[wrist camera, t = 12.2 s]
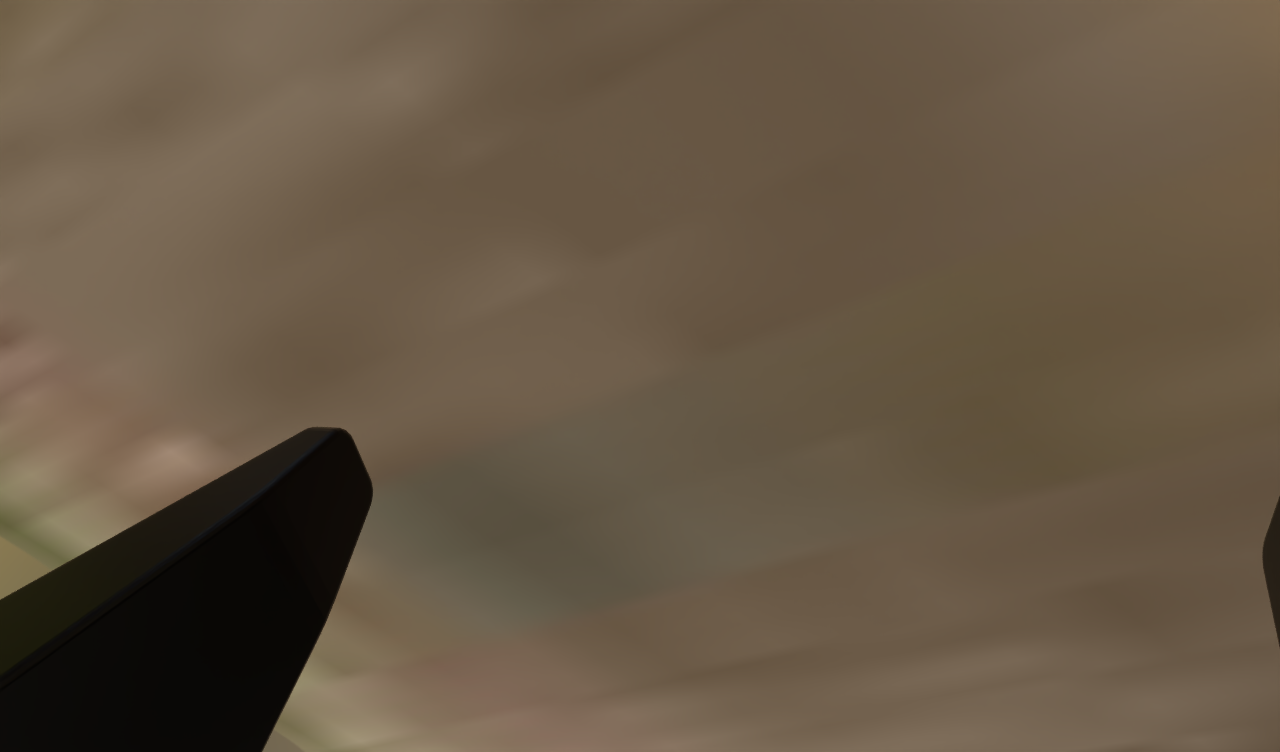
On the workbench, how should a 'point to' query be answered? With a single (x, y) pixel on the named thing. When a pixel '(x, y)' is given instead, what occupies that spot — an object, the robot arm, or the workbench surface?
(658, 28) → the workbench surface
